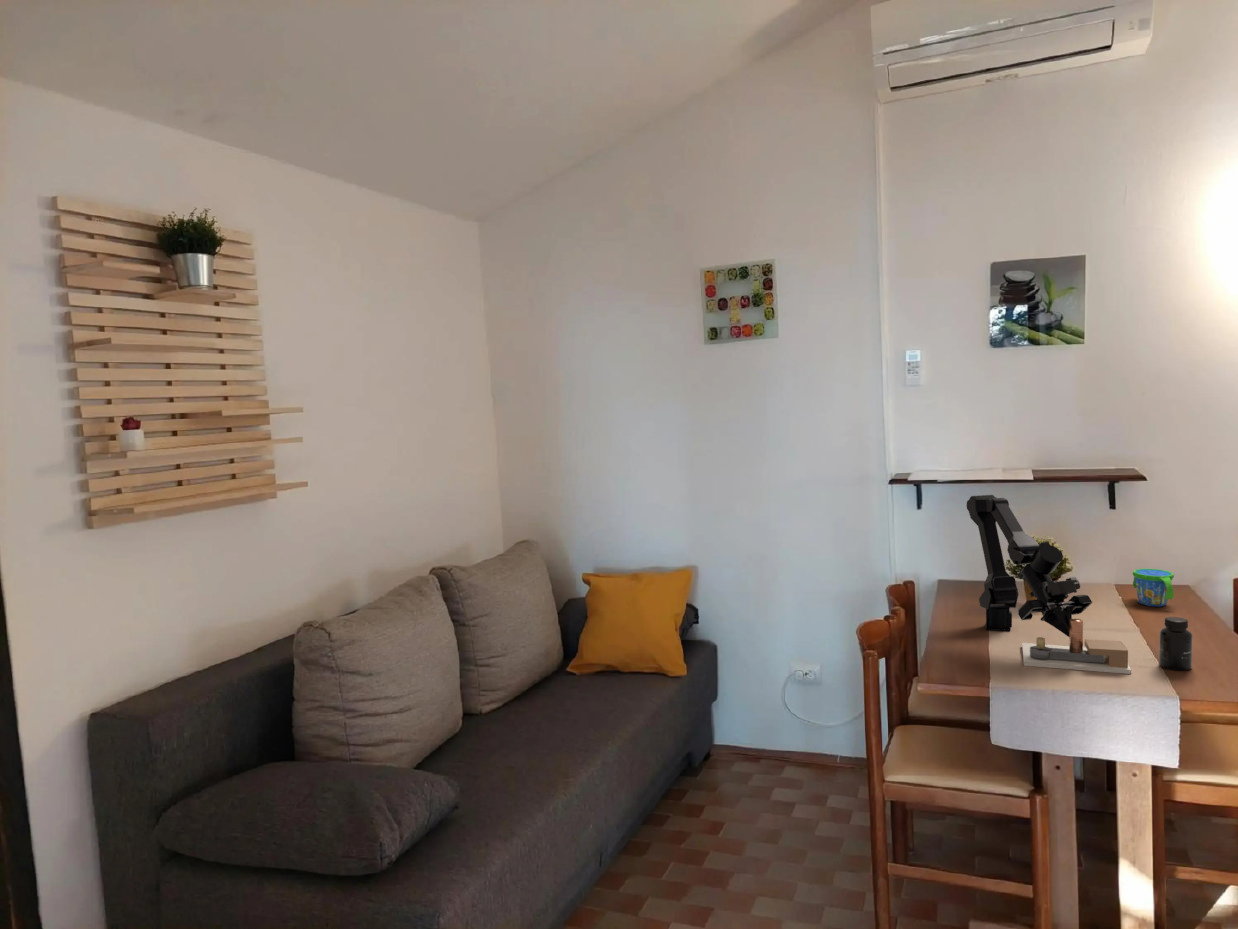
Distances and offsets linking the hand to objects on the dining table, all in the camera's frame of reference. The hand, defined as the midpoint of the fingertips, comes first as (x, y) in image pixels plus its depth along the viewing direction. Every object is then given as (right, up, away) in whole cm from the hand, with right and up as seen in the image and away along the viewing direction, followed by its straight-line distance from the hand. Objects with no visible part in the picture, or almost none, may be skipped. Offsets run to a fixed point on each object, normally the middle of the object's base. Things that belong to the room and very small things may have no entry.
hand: (1071, 636), depth 221 cm
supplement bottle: (+22, -7, -6) cm, 24 cm away
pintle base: (+2, -6, +3) cm, 7 cm away
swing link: (-2, -6, 0) cm, 6 cm away
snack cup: (+51, 0, +50) cm, 71 cm away
